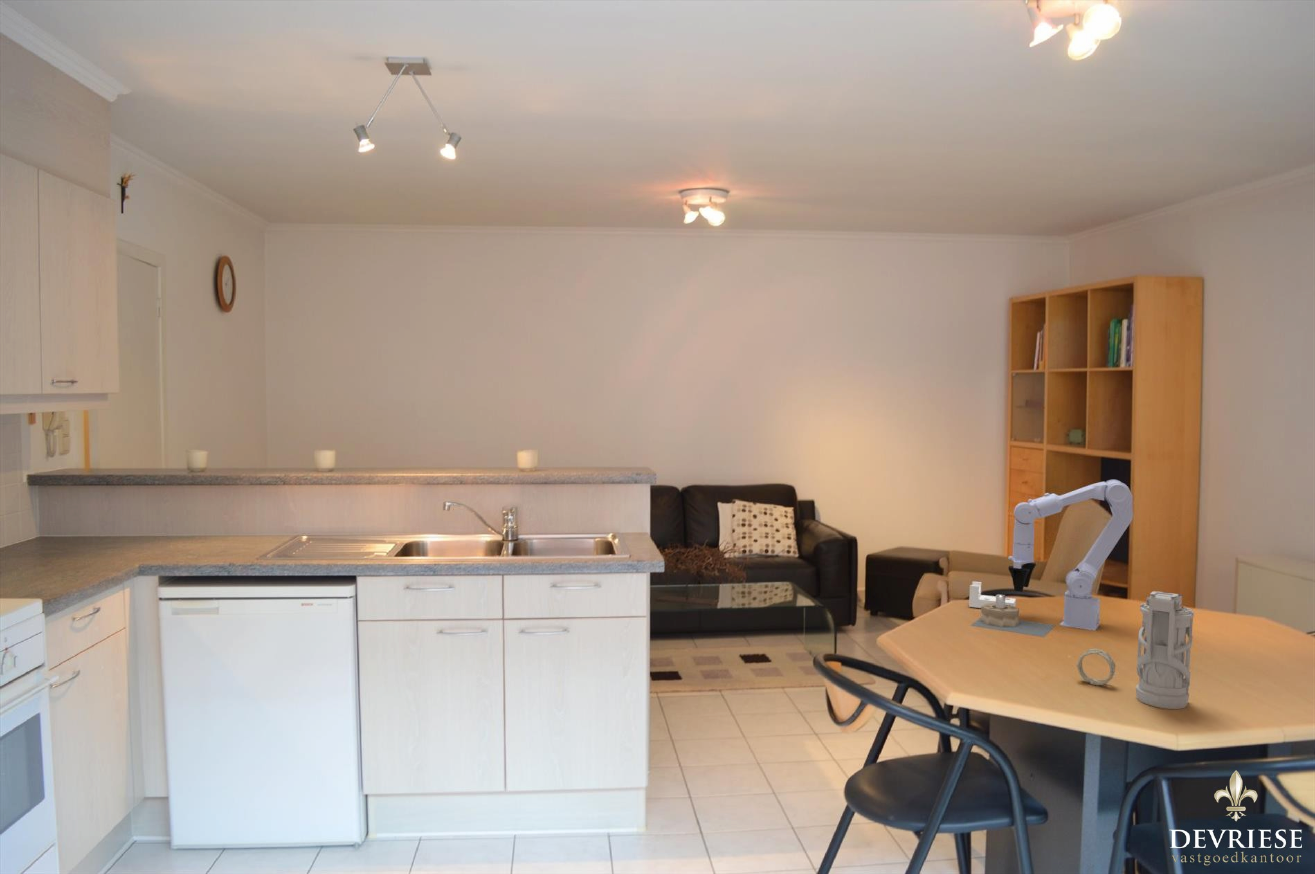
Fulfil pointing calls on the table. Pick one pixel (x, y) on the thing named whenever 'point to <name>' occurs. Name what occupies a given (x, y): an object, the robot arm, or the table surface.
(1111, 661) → the bracelet
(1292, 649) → the table surface
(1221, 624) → the table surface
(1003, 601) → the peg
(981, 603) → the bracket
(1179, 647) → the lantern
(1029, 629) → the mat
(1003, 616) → the ring
